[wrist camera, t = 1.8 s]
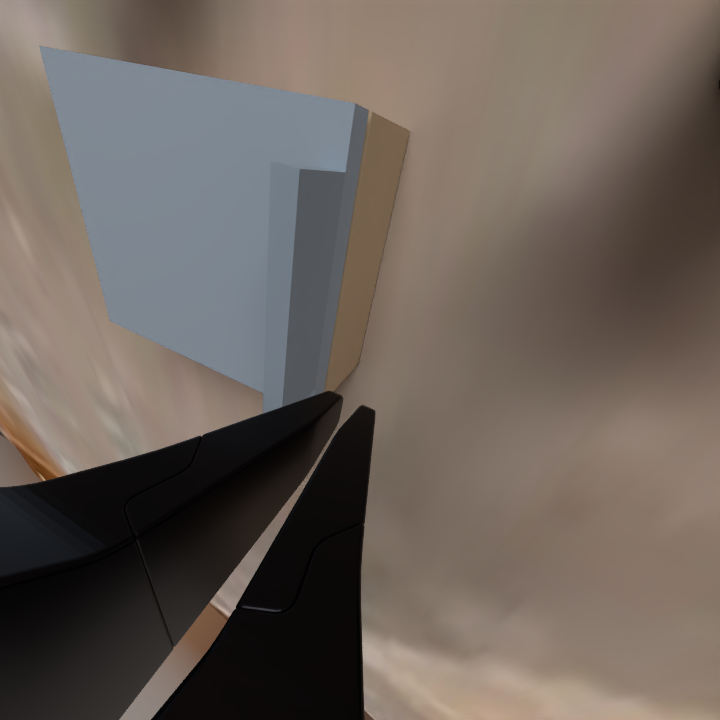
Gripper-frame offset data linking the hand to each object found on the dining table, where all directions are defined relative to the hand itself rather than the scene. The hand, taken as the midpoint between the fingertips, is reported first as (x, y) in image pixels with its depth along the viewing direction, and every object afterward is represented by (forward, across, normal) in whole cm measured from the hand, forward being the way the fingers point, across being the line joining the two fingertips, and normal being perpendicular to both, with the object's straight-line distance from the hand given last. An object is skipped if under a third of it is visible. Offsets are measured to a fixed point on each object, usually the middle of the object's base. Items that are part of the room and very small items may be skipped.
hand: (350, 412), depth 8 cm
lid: (+7, +12, 0) cm, 14 cm away
